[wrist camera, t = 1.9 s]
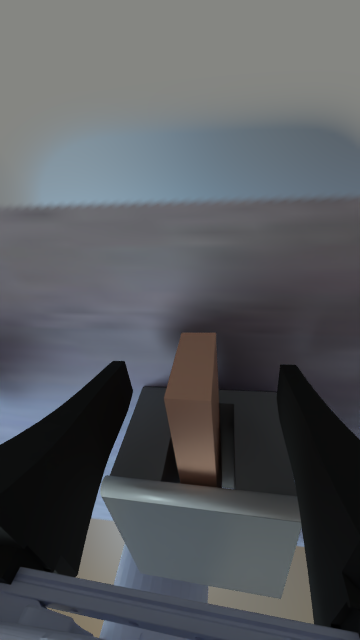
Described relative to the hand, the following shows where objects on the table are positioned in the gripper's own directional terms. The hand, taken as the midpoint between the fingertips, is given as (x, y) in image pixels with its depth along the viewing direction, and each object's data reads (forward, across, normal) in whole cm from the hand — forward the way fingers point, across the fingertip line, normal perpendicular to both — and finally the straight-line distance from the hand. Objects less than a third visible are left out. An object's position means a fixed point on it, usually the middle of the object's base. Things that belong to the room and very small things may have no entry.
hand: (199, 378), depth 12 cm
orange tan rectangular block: (+1, 0, +4) cm, 4 cm away
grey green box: (+2, 0, +8) cm, 8 cm away
